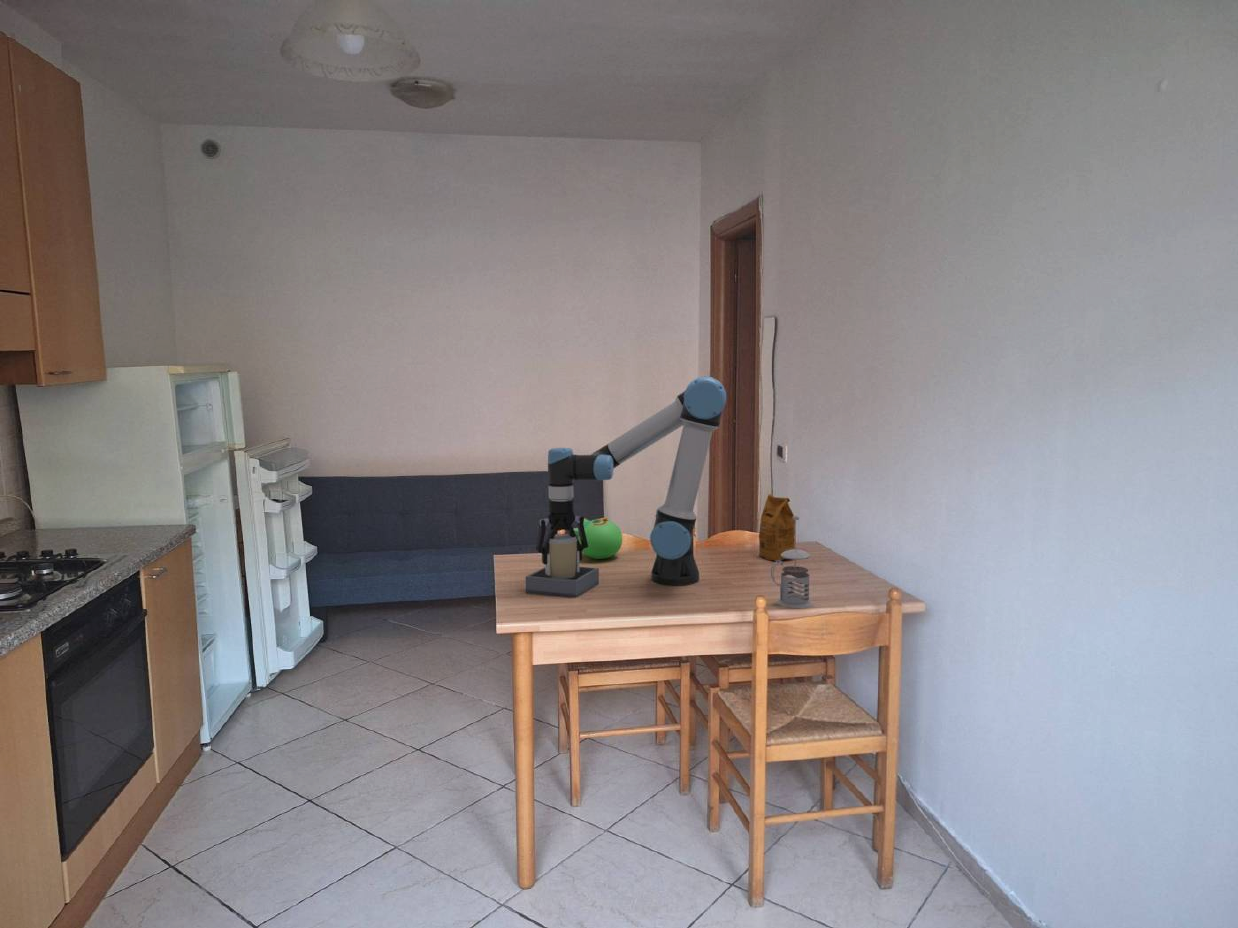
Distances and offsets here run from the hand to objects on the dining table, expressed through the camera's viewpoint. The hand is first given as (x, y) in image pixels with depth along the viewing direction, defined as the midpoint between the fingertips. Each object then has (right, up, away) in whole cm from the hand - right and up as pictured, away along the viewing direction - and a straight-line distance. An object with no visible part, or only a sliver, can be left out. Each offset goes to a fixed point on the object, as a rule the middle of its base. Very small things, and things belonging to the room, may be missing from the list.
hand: (562, 572), depth 245 cm
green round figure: (+10, 0, +41) cm, 42 cm away
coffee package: (+72, 0, +37) cm, 81 cm away
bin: (0, -5, 0) cm, 5 cm away
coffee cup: (0, -1, 0) cm, 1 cm away
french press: (+66, -6, -19) cm, 69 cm away
